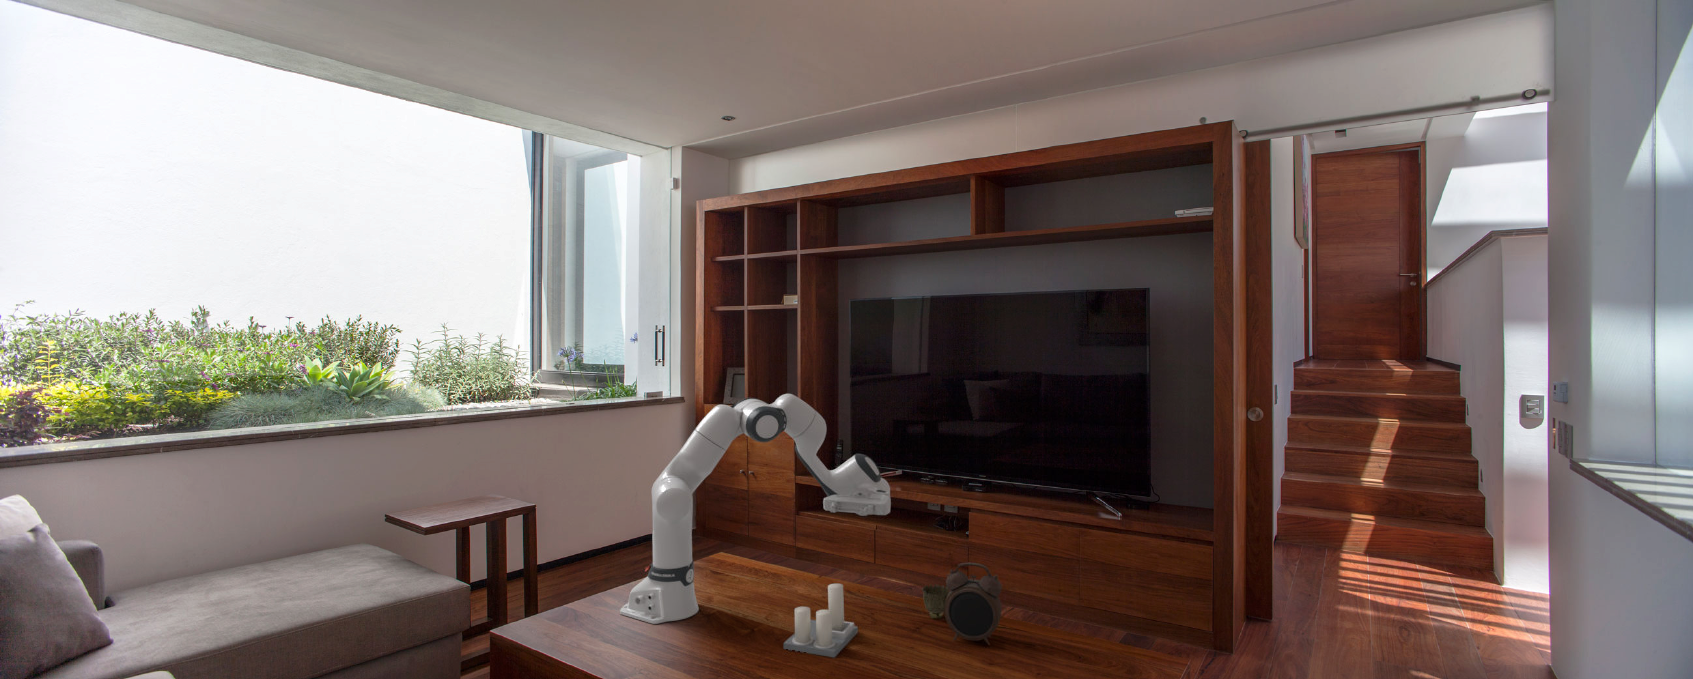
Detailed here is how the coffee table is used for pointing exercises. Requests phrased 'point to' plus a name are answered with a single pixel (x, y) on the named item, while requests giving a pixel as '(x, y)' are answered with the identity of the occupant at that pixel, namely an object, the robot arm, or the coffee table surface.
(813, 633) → the pin board
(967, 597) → the alarm clock
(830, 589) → the ivory pin
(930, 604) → the cup
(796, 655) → the coffee table surface
